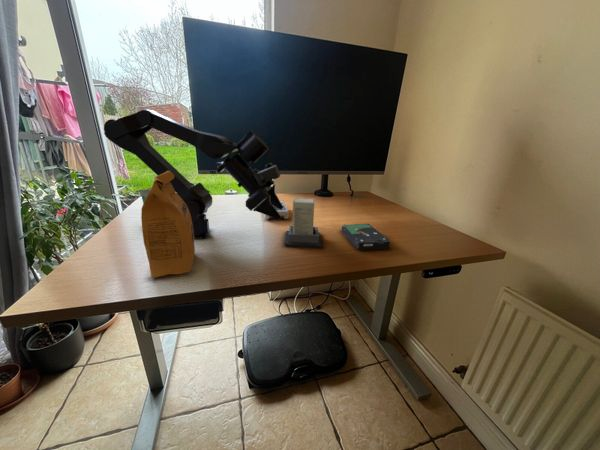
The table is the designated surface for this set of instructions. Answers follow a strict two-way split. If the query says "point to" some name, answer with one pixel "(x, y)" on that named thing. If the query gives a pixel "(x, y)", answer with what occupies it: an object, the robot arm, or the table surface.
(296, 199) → the cosmetic box
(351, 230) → the disk drive
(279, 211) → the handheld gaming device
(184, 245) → the coffee package
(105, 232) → the table surface
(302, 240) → the dock pad
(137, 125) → the robot arm
